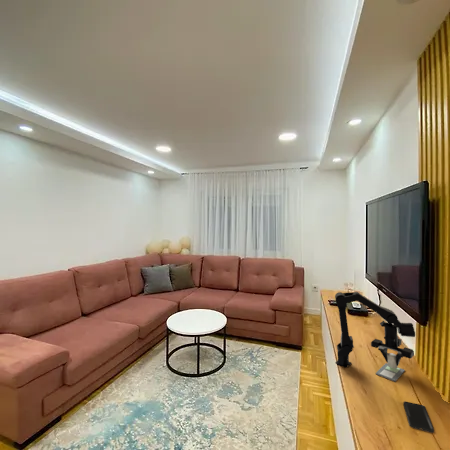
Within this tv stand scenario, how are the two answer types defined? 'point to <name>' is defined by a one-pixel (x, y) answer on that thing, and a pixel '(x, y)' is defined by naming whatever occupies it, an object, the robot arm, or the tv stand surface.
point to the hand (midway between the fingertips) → (392, 363)
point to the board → (390, 372)
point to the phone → (418, 417)
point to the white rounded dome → (391, 360)
